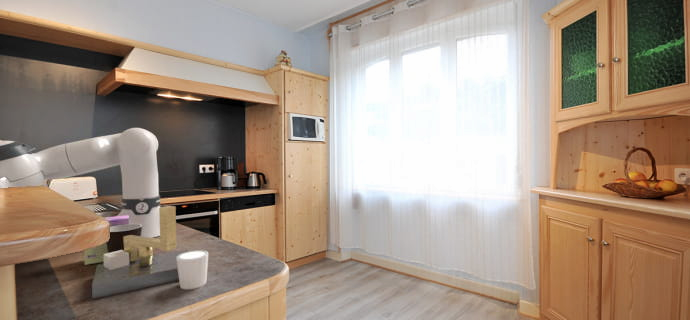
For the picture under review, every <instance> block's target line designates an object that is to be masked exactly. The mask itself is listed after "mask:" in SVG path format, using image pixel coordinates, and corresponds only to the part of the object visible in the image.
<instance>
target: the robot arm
mask: <svg viewBox="0 0 690 320" xmlns="http://www.w3.org/2000/svg"><path fill="white" fill-rule="evenodd" d="M35 150H37V148H36V147H35V146H30V145H28V144H26V143H25V142H22V141H18V140H0V188H8V187H26V186H41V185H44V186H45V187H47V188H48V189H49V187H48V183H47V180H57V179H58V180H59V179H66V178H70V177H75V176H79V175H84V174H88V173H93V172H96V171H100V170H105V169H109V168H113V167H117V166H120V173H121V183H122V198H121V201H120V204H121V211H120V212H119V213H118V214H116V216H125V215H129V224H141V225H142V231H141V236H142V237H148V238H156V237H160V218H159V208H160V207H161V202H162V201H161V195H160V194H159V193H160V192H159V191H160V189H159V171H158V170H159V169H158V161H157V151H158V150H159V141H158V139H157V136H156V135H155V134H154V133H153V132H151V131H149V130H147V129H144V128H141V127H131V128H128V129H126V130H124V131H122V132H120V133H114V134H109V135H101V136H97V137H92V138H86V139H82V140H78V141H77V140H76V141H72V142H67V143H62V144H58V145H54V146H52V147H49V148H46V149H45V148H44V149H43V150H40V151H37V152H36V153H34V152H33V151H35Z"/></svg>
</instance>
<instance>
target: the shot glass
mask: <svg viewBox="0 0 690 320" xmlns="http://www.w3.org/2000/svg"><path fill="white" fill-rule="evenodd" d="M176 260H177V267H178V275H179V280H178V281H179V287H180V288H181V289H182V290H193V289H197V288H201V287H203V286H205V285H206V284H207V278H208V265H209V251H207V250H201V249H200V250H190V251H188V252H185V253H182V254H180V255H178V256H177V257H176Z"/></svg>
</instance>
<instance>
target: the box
mask: <svg viewBox="0 0 690 320" xmlns="http://www.w3.org/2000/svg"><path fill="white" fill-rule="evenodd" d="M104 218H105V219H106V220H108V221H109V223H110V227H112V226H117V225H124V224H129V215H125V216H117V215H115V216H106V217H104ZM83 253H84V254H83V255H84V266H88V265H91V264H97V263H104V258H103V254H107V253H108V250H107V244H106V243H104V244H102V245H100V246H97V247H95V248H91V249H88V250H85V251H84V250H83Z"/></svg>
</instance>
